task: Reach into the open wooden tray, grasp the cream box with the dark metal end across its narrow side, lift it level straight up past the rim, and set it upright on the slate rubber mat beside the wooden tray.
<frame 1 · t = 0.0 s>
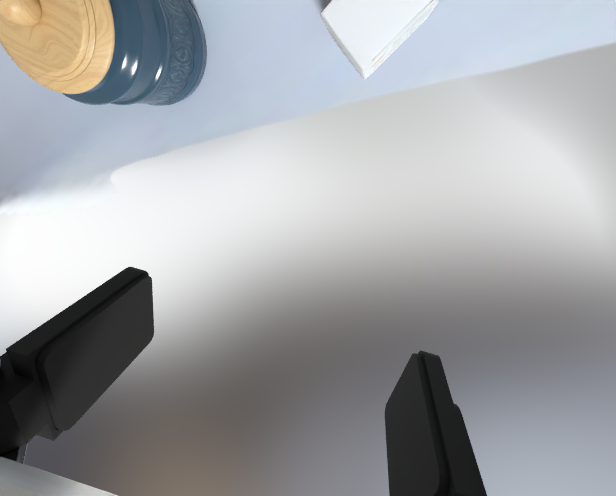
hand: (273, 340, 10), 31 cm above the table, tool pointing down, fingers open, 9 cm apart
canister: (160, 46, 36), on the table
small box: (377, 31, 32), on the table
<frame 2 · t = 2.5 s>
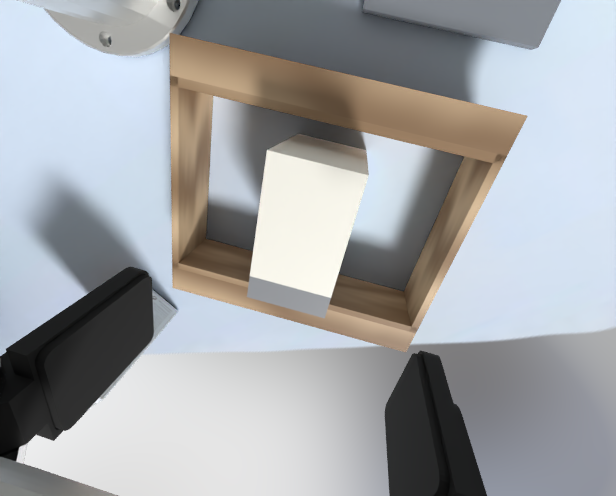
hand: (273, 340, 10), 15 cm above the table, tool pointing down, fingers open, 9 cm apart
wooden tray: (318, 200, 23), on the table
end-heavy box: (318, 200, 23), resting in wooden tray
small box: (141, 309, 32), on the table
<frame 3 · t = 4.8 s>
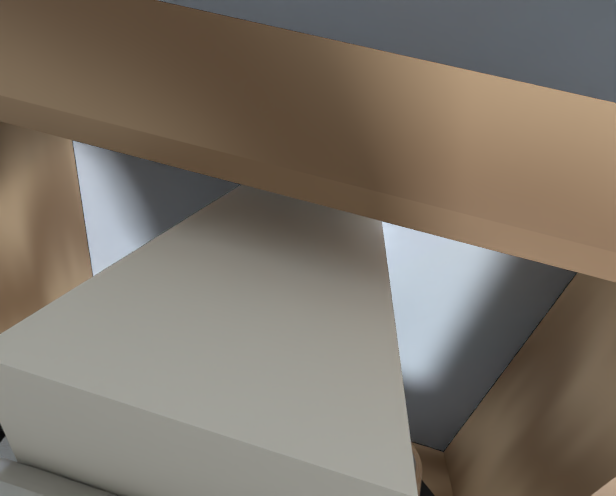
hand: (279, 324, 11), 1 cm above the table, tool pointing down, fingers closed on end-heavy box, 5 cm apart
wooden tray: (287, 304, 12), on the table
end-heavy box: (287, 304, 12), resting in wooden tray, touching gripper
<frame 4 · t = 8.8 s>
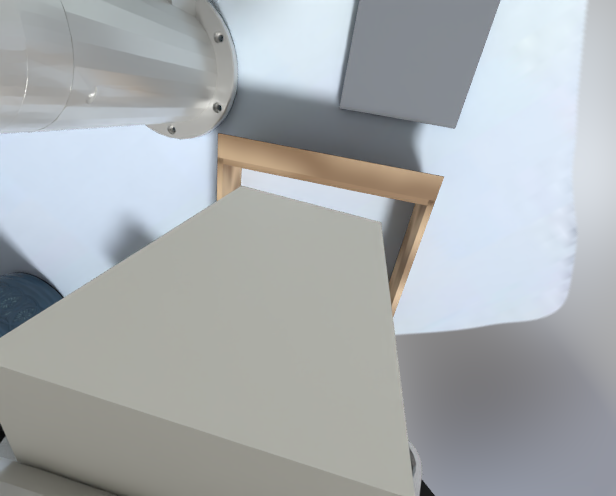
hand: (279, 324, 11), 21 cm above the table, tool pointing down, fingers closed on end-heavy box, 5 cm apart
wooden tray: (317, 228, 32), on the table
canister: (40, 305, 47), on the table
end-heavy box: (287, 305, 12), point 20 cm above the table, touching gripper
pad: (412, 51, 24), on the table
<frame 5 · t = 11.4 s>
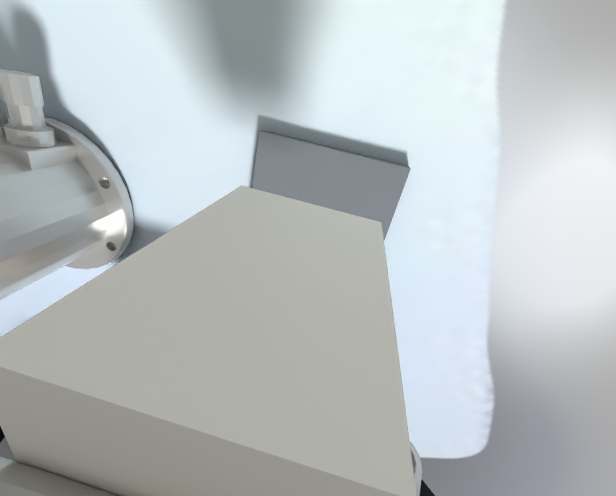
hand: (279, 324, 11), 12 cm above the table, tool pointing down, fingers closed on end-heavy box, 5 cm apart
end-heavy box: (287, 305, 12), point 11 cm above the table, touching gripper
pad: (318, 217, 22), on the table
when the fingers open (4 cm above the table, at t = 13.3 s): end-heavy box drops 2 cm, resting on pad.
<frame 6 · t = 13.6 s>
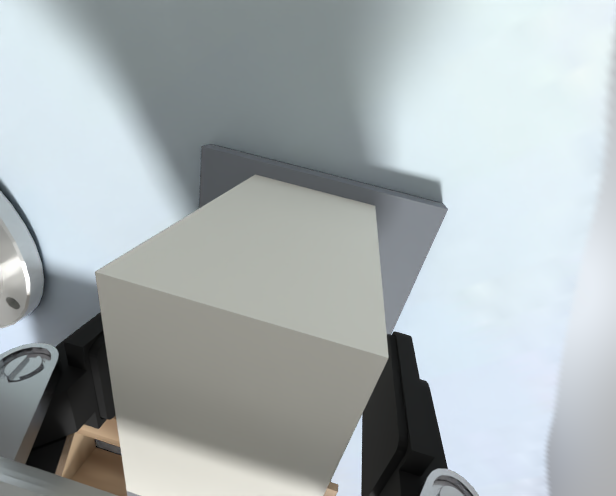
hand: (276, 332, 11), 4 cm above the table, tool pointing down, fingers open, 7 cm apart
wooden tray: (194, 439, 23), on the table
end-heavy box: (293, 281, 14), point 1 cm above the table, touching pad
pad: (300, 272, 15), on the table
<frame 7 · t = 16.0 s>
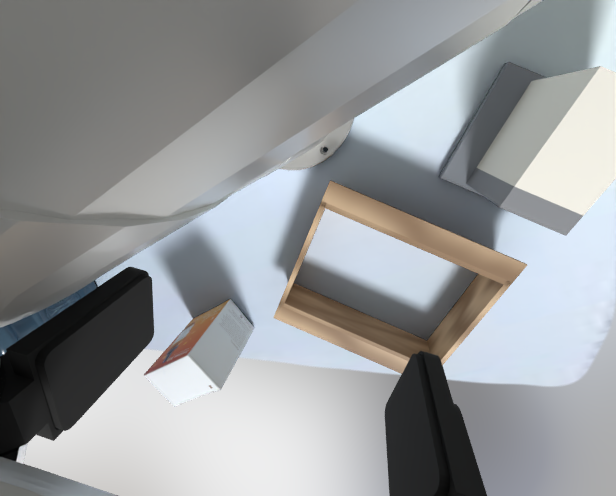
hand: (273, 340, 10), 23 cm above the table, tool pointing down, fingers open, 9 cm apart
wooden tray: (382, 273, 34), on the table
canister: (65, 284, 45), on the table
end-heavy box: (522, 147, 26), point 1 cm above the table, touching pad
pad: (520, 146, 27), on the table
small box: (223, 322, 42), on the table
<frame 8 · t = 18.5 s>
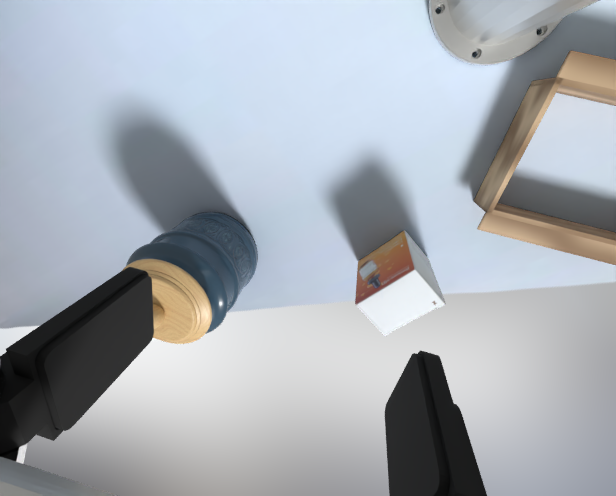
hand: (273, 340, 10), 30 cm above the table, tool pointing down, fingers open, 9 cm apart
wooden tray: (587, 167, 32), on the table
canister: (220, 249, 46), on the table
small box: (391, 259, 41), on the table
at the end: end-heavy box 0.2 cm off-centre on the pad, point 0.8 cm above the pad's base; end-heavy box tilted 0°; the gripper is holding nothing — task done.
